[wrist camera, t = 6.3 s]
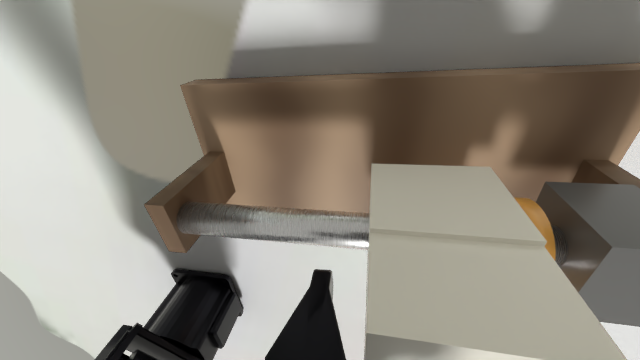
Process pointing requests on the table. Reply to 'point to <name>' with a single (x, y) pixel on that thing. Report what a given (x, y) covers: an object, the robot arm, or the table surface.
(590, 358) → the sleeve
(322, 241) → the rod stand
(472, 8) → the table surface
